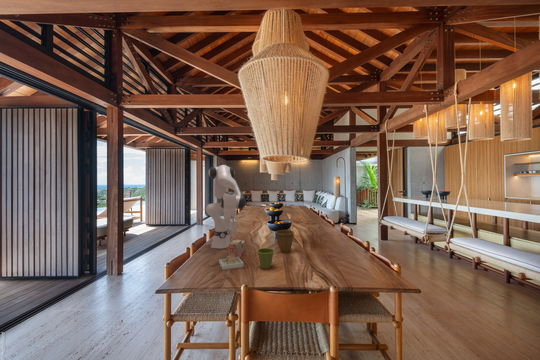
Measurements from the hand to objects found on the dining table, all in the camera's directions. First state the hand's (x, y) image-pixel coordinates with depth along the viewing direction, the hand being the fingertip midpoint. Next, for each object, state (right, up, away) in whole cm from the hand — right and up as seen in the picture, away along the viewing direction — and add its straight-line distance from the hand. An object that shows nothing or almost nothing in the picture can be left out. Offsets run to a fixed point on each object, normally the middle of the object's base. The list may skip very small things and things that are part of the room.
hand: (230, 235), depth 165 cm
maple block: (0, -20, 0) cm, 20 cm away
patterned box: (+2, -21, +20) cm, 30 cm away
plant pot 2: (+40, -21, +30) cm, 54 cm away
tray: (0, -21, 0) cm, 21 cm away
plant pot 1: (+25, -21, -4) cm, 33 cm away
